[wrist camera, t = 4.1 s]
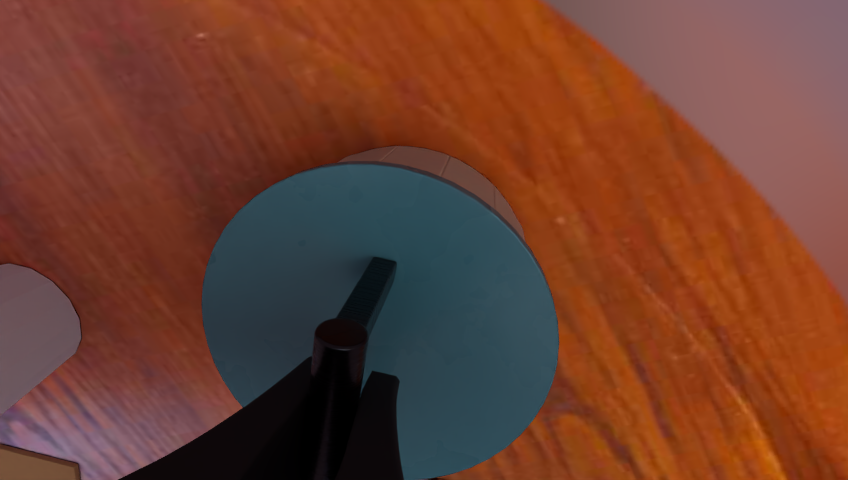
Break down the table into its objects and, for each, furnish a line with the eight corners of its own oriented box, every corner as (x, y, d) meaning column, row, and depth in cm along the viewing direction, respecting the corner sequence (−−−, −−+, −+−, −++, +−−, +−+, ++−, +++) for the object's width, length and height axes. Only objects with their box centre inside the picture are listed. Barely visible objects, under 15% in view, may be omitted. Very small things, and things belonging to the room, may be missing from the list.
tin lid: (602, 199, 12) (682, 296, 7) (506, 486, 16) (514, 681, 11) (221, 122, 13) (43, 160, 8) (219, 415, 17) (100, 569, 12)
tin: (556, 174, 17) (577, 209, 13) (495, 386, 20) (496, 467, 16) (299, 123, 17) (241, 140, 13) (284, 338, 21) (235, 404, 17)
